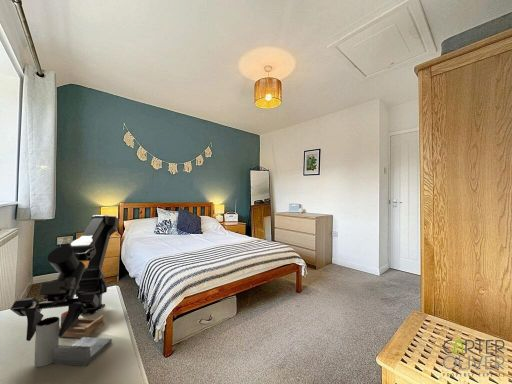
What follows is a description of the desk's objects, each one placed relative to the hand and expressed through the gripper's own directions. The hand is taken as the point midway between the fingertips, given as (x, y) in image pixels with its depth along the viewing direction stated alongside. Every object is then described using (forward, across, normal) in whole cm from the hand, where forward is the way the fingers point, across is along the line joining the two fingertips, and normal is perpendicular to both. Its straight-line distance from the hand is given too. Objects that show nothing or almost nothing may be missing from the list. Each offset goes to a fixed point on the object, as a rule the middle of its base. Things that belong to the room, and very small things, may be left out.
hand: (44, 338), depth 56 cm
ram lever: (-7, -1, +15) cm, 17 cm away
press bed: (+3, +8, +6) cm, 11 cm away
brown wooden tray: (-6, +2, +15) cm, 16 cm away
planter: (+4, 0, +6) cm, 7 cm away
